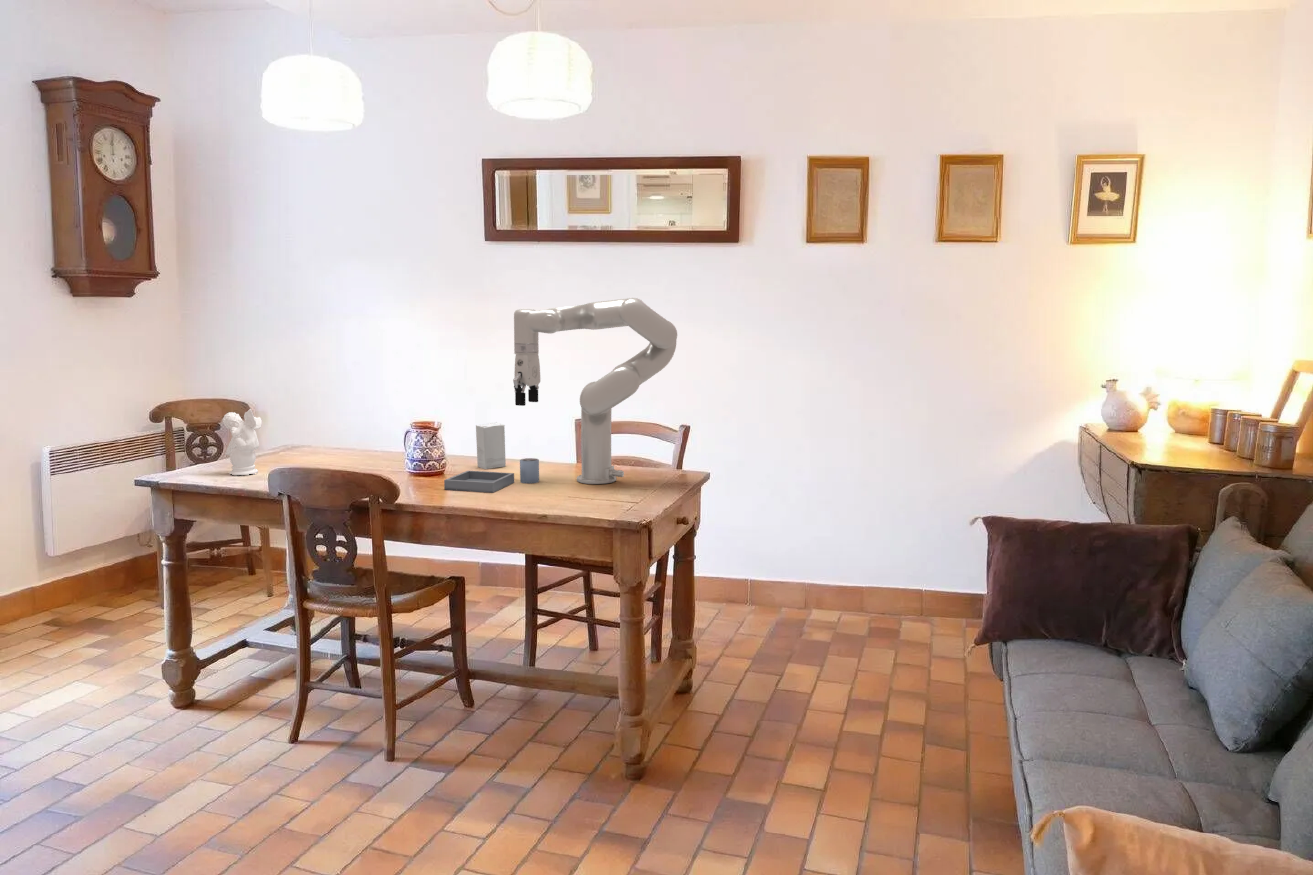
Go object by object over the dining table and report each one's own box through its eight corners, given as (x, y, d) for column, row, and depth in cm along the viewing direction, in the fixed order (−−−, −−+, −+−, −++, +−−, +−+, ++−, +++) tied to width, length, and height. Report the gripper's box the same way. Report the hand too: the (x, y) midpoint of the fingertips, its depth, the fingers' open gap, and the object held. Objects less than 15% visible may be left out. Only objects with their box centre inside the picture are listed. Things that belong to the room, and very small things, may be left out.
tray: (514, 482, 307) (514, 473, 306) (492, 492, 292) (492, 483, 291) (467, 479, 311) (467, 470, 310) (444, 489, 296) (444, 480, 295)
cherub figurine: (221, 474, 318) (216, 408, 315) (253, 468, 329) (249, 404, 325) (246, 477, 312) (241, 409, 309) (278, 471, 323) (273, 405, 319)
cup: (542, 480, 311) (541, 458, 310) (534, 483, 305) (534, 461, 304) (524, 479, 312) (524, 457, 311) (517, 482, 307) (516, 460, 305)
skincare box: (497, 464, 337) (496, 422, 335) (506, 467, 333) (505, 424, 330) (476, 467, 332) (475, 424, 330) (484, 469, 327) (483, 426, 325)
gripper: (525, 351, 294) (526, 407, 297) (548, 347, 310) (548, 401, 313) (503, 350, 296) (504, 406, 299) (526, 347, 312) (527, 400, 315)
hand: (527, 403), depth 306 cm, fingers open, 9 cm apart
